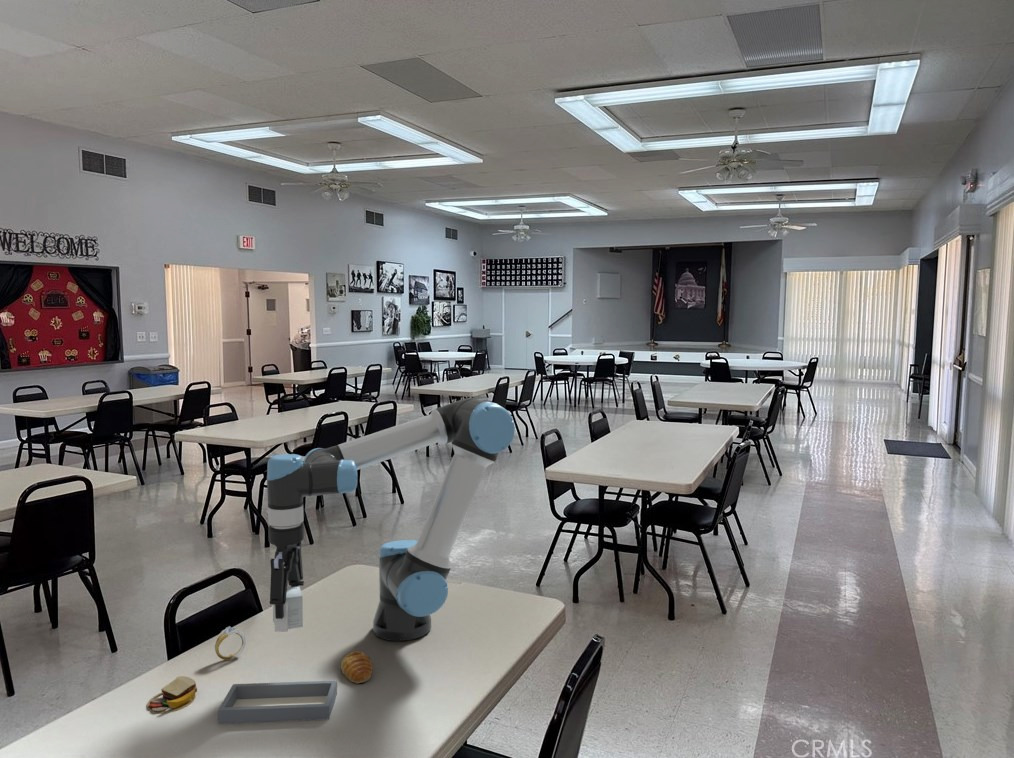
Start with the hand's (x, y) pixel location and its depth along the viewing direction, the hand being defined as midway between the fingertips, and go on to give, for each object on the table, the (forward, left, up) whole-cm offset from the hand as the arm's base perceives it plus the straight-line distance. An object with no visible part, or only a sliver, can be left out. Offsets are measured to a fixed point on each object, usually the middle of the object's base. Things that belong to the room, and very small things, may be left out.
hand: (287, 622), depth 158 cm
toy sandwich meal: (+22, +8, -14) cm, 28 cm away
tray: (-1, +13, -13) cm, 19 cm away
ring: (+16, -10, -14) cm, 23 cm away
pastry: (-14, +3, -14) cm, 20 cm away
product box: (0, 0, -1) cm, 1 cm away
